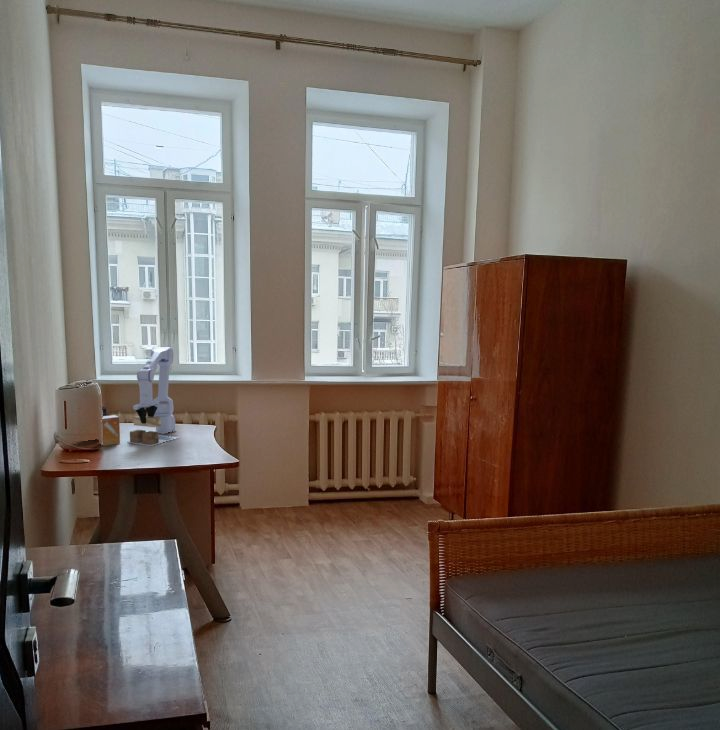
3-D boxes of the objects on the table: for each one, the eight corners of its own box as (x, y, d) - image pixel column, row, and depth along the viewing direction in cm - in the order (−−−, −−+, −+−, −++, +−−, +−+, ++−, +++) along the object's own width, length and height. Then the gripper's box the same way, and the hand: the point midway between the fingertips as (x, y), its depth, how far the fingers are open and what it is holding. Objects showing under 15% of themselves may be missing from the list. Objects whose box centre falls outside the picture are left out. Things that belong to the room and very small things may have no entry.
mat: (154, 435, 286) (154, 434, 286) (179, 438, 279) (179, 437, 279) (127, 442, 269) (126, 441, 269) (152, 446, 263) (152, 445, 263)
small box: (102, 446, 262) (101, 418, 261) (98, 444, 267) (96, 416, 265) (120, 443, 268) (119, 416, 266) (115, 441, 272) (114, 414, 271)
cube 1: (138, 439, 274) (137, 429, 273) (145, 440, 272) (145, 430, 271) (130, 441, 269) (129, 431, 269) (137, 442, 267) (137, 432, 266)
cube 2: (150, 441, 270) (150, 431, 270) (158, 442, 268) (158, 431, 268) (142, 443, 266) (142, 433, 265) (150, 444, 264) (150, 434, 263)
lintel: (140, 423, 274) (139, 415, 274) (160, 425, 269) (160, 417, 269) (133, 425, 271) (133, 416, 270) (154, 427, 265) (154, 418, 265)
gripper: (140, 396, 260) (141, 425, 261) (163, 392, 273) (164, 420, 275) (129, 395, 263) (130, 424, 264) (152, 392, 276) (153, 419, 277)
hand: (147, 422), depth 270 cm, fingers closed on lintel, 4 cm apart
